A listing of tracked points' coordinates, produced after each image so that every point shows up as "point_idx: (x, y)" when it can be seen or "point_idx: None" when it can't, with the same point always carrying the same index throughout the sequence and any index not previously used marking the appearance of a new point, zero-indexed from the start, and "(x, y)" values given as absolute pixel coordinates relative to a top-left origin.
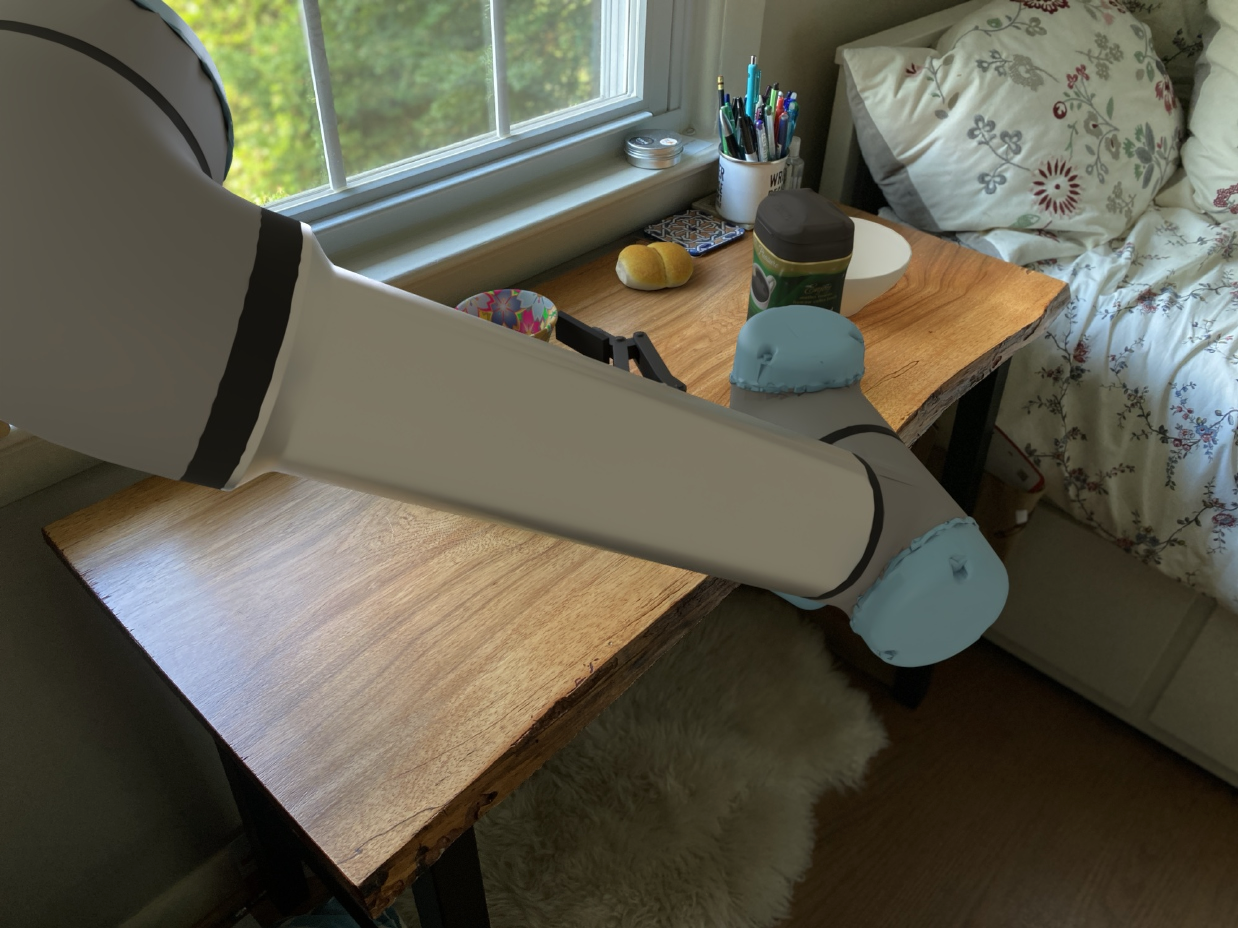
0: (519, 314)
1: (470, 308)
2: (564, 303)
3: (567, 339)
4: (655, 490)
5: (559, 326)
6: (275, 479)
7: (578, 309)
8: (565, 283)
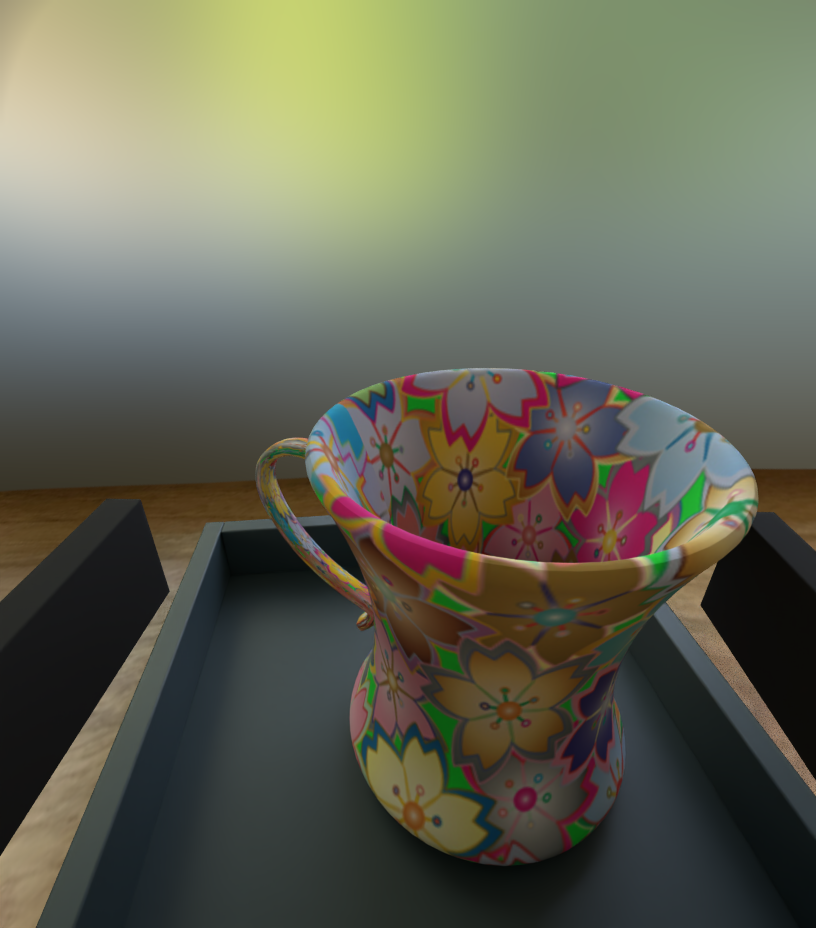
0: (606, 468)
1: (462, 395)
2: (773, 511)
3: (751, 641)
4: None
5: (737, 571)
6: (28, 574)
7: (802, 534)
8: (789, 479)
